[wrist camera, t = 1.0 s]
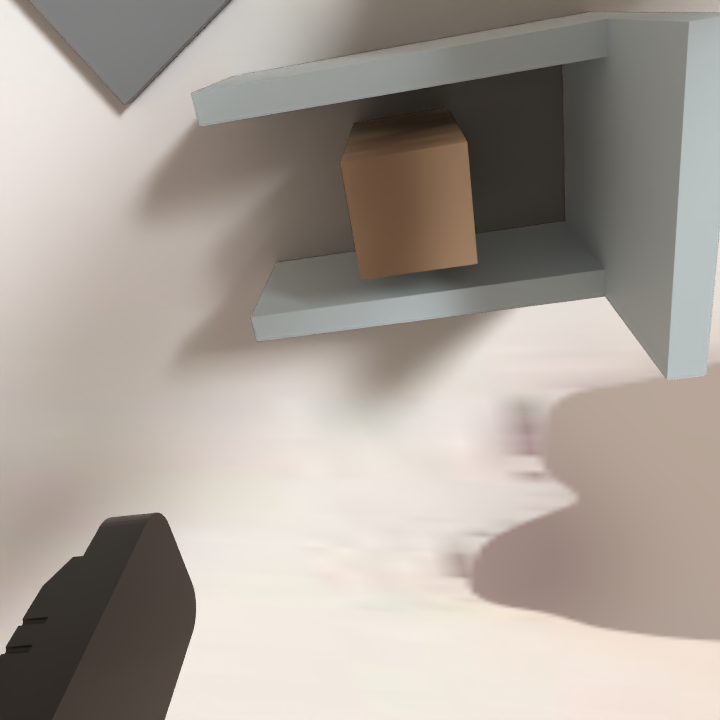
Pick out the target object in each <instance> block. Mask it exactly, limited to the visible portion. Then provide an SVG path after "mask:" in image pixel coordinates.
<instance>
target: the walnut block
mask: <svg viewBox="0 0 720 720" xmlns="http://www.w3.org/2000/svg"><path fill="white" fill-rule="evenodd" d="M340 164H341V170H342V176H343V182H344V187H345V193H346V199H347V204H348V210H349V216H350V221H351V227H352V233H353V239H354V244H355V250H356V256H357V261H358V267H359V273H360V278H361V280H364V279H372V278H379V277H386V276H393V275H400V274H408V273H415V272H422V271H429V270H436V269H444V268H451V267H458V266H465V265H472V264H478V261H477V249H476V238H475V226H474V214H473V202H472V191H471V179H470V167H469V156H468V144H467V140H466V139H465V137H464V135H463V133H462V131H461V130H460V128H459V126H458V124H457V122H456V121H455V119H454V117H453V115H452V113H451V112H450V110H449V108H443V109H437V110H431V111H426V112H420V113H414V114H408V115H402V116H396V117H390V118H384V119H378V120H372V121H366V122H360V123H354V125H353V127H352V130H351V133H350V136H349V139H348V142H347V144H346V147H345V150H344V153H343V156H342V159H341V161H340Z"/></svg>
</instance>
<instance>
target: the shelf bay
mask: <svg viewBox="0 0 720 720" xmlns="http://www.w3.org/2000/svg"><path fill="white" fill-rule="evenodd" d="M561 64H563V117H564V169H565V221H561V222H554V223H547V224H540V225H533V226H526V227H519V228H512V229H505V230H498V231H491V232H485V233H478V234H475V238H476V249H477V261H478V264H472V265H465V266H458V267H451V268H444V269H436V270H429V271H422V272H415V273H408V274H400V275H393V276H386V277H379V278H372V279H364V280H361V278H360V273H359V267H358V261H357V256H356V251H353V252H346V253H339V254H332V255H326V256H319V257H312V258H305V259H298V260H291V261H284V262H277V263H276V264H275V266H274V268H273V270H272V273H271V275H270V277H269V279H268V281H267V283H266V285H265V288H264V290H263V292H262V294H261V296H260V298H259V300H258V303H257V305H256V307H255V309H254V311H253V313H252V315H251V321H252V325H253V328H254V332H255V336H256V340H257V342H259V341H267V340H275V339H282V338H290V337H298V336H305V335H313V334H321V333H328V332H336V331H344V330H351V329H359V328H367V327H374V326H382V325H390V324H397V323H405V322H413V321H420V320H428V319H436V318H443V317H451V316H459V315H466V314H474V313H482V312H489V311H497V310H505V309H512V308H520V307H528V306H535V305H543V304H551V303H558V302H566V301H574V300H581V299H589V298H597V297H604V296H605V297H606V298H607V300H608V301H609V302H610V304H611V305H612V307H613V308H614V309H615V311H616V312H617V313H618V315H619V316H620V317H621V319H622V320H623V321H624V323H625V324H626V325H627V327H628V328H629V330H630V331H631V332H632V334H633V335H634V336H635V338H636V339H637V340H638V342H639V343H640V344H641V346H642V347H643V348H644V350H645V351H646V353H647V354H648V355H649V357H650V358H651V359H652V361H653V362H654V363H655V365H656V366H657V367H658V369H659V370H660V371H661V373H662V374H663V375H664V377H665V378H666V380H673V379H682V378H691V377H700V376H706V370H707V360H708V349H709V338H710V328H711V317H712V306H713V296H714V285H715V274H716V263H717V253H718V242H719V231H720V13H705V12H586V13H580V14H575V15H569V16H564V17H558V18H553V19H547V20H542V21H536V22H531V23H525V24H519V25H514V26H508V27H503V28H497V29H492V30H486V31H481V32H475V33H470V34H464V35H458V36H453V37H447V38H442V39H436V40H431V41H425V42H420V43H414V44H409V45H403V46H398V47H392V48H386V49H381V50H375V51H370V52H364V53H359V54H353V55H348V56H342V57H337V58H331V59H326V60H320V61H314V62H309V63H303V64H298V65H292V66H287V67H281V68H276V69H270V70H265V71H259V72H253V73H248V74H242V75H237V76H232V77H229V78H227V79H224V80H222V81H219V82H217V83H215V84H212V85H210V86H207V87H205V88H202V89H200V90H197V91H195V92H192V93H191V96H192V99H193V103H194V107H195V111H196V114H197V118H198V122H199V126H200V127H201V126H207V125H213V124H219V123H224V122H230V121H236V120H242V119H248V118H253V117H259V116H265V115H271V114H277V113H283V112H288V111H294V110H300V109H306V108H312V107H317V106H323V105H329V104H335V103H341V102H346V101H352V100H358V99H364V98H370V97H375V96H381V95H387V94H393V93H399V92H405V91H410V90H416V89H422V88H428V87H434V86H439V85H445V84H451V83H457V82H463V81H468V80H474V79H480V78H486V77H492V76H497V75H503V74H509V73H515V72H521V71H527V70H532V69H538V68H544V67H550V66H556V65H561Z"/></svg>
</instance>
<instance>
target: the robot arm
mask: <svg viewBox="0 0 720 720" xmlns="http://www.w3.org/2000/svg"><path fill="white" fill-rule="evenodd" d="M195 617H196V599H195V592H194V588H193V585H192V582H191V579H190V577H189V574H188V572H187V569H186V567H185V564H184V562H183V559H182V557H181V554H180V551H179V549H178V546H177V544H176V541H175V539H174V536H173V534H172V531H171V529H170V526H169V524H168V521H167V520H166V518H165V517H164V516H163V515H162V514H160V513H150V514H140V515H130V516H121V517H111V518H108V519H106V520H105V521H104V522H103V523H102V524H101V526H100V527H99V529H98V531H97V533H96V534H95V536H94V538H93V540H92V541H91V543H90V545H89V547H88V548H87V550H86V552H85V554H84V555H83V556H80V557H73V558H72V559H70V560H69V561H68V562H67V563H66V564H65V565H64V566H63V567H62V568H61V569H60V570H59V571H58V572H57V573H56V574H55V575H54V576H53V577H52V578H51V579H50V580H49V581H48V582H47V583H45V584H44V585H43V586H42V588H41V590H40V591H39V593H38V595H37V596H36V598H35V600H34V601H33V603H32V604H31V606H30V608H29V609H28V611H27V613H26V614H25V616H24V618H23V625H22V626H18V628H17V629H16V631H15V632H14V634H13V636H12V637H11V639H10V641H9V642H8V644H7V646H6V653H5V654H1V655H0V720H165V717H166V714H167V711H168V707H169V704H170V701H171V698H172V695H173V692H174V689H175V686H176V683H177V679H178V676H179V673H180V670H181V667H182V664H183V661H184V658H185V655H186V651H187V648H188V645H189V642H190V639H191V636H192V633H193V629H194V624H195Z"/></svg>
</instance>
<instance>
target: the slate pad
mask: <svg viewBox="0 0 720 720" xmlns="http://www.w3.org/2000/svg"><path fill="white" fill-rule="evenodd" d="M29 1H30V2H31V3H32V4H33V5H34V7H35V8H36V9H37V10H38V11H39V12H40V13H41V14H42V15H43V16H44V18H45V19H46V20H47V21H48V22H49V23H50V24H51V25H52V26H53V27H54V28H55V30H56V31H57V32H58V33H59V34H60V35H61V36H62V37H63V38H64V39H65V40H66V42H67V43H68V44H69V45H70V46H71V47H72V48H73V49H74V50H75V51H76V52H77V54H78V55H79V56H80V57H81V58H82V59H83V60H84V61H85V62H86V63H87V65H88V66H89V67H90V68H91V69H92V70H93V71H94V72H95V73H96V74H97V75H98V77H99V78H100V79H101V80H102V81H103V82H104V83H105V84H106V85H107V86H108V87H109V89H110V90H111V91H112V92H113V93H114V94H115V95H116V96H117V97H118V98H119V100H120V101H121V102H122V103H123V104H124V105H127V104H129V103H131V102H132V101H133V100H134V99H135V98H136V97H137V96H138V95H139V94H140V93H141V92H142V91H143V90H144V89H145V88H146V87H147V86H148V85H149V84H150V83H151V82H152V81H153V80H154V79H155V78H156V77H157V76H158V75H159V73H160V72H161V71H162V70H163V69H164V68H165V67H166V66H167V65H168V64H169V63H170V62H171V61H172V60H173V59H174V58H175V57H176V56H177V55H178V54H179V53H180V52H181V51H182V50H183V49H184V48H185V47H186V46H187V45H188V44H189V43H190V42H191V41H192V40H193V39H194V38H195V37H196V35H197V34H198V33H199V32H200V31H201V30H202V29H203V28H204V27H205V26H206V25H207V24H208V23H209V22H210V21H211V20H212V19H213V18H214V17H215V16H216V15H217V14H218V13H219V12H220V11H221V10H222V9H223V8H224V7H225V6H226V5H227V4H228V3H229V2H230V1H231V0H29Z"/></svg>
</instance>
